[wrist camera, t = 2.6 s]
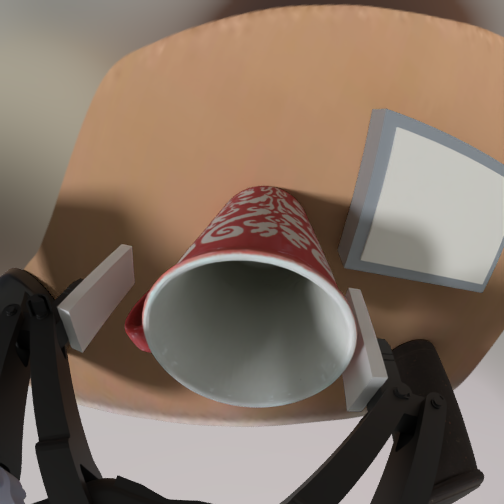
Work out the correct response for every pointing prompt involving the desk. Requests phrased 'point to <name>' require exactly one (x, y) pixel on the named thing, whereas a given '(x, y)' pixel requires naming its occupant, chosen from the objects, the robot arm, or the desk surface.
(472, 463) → the container
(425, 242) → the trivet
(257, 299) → the mug
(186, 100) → the desk surface
